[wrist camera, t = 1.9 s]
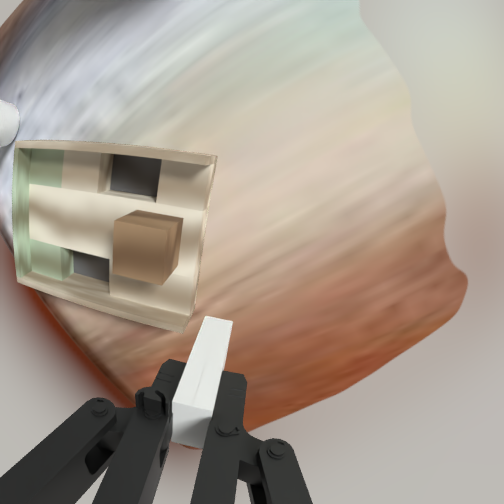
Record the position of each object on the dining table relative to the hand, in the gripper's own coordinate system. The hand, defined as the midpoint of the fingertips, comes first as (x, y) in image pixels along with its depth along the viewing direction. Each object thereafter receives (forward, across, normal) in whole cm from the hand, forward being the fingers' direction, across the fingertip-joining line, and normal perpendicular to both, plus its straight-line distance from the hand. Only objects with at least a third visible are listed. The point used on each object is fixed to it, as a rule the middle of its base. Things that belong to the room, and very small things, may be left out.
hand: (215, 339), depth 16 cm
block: (+14, -9, 0) cm, 17 cm away
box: (+17, -16, 0) cm, 23 cm away
